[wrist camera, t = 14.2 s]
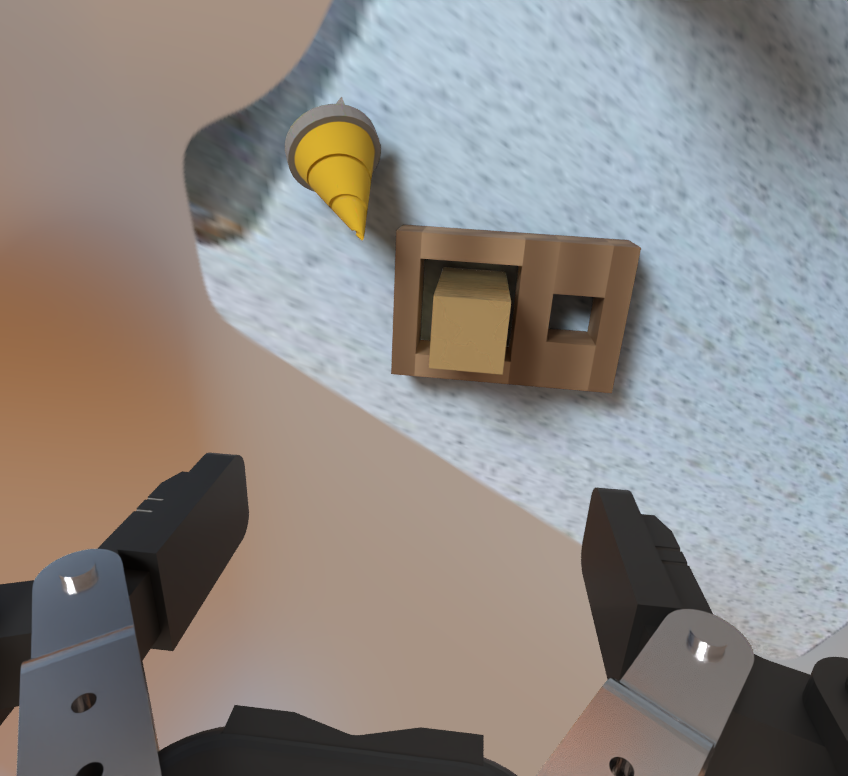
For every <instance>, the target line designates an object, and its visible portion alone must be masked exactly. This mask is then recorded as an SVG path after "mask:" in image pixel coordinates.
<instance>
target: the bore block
mask: <svg viewBox="0 0 848 776" xmlns="http://www.w3.org/2000/svg"><path fill="white" fill-rule="evenodd" d="M640 250H641V247H639V246H637V245H636V244H634V243H632V242H631V241H629V240H619V239H604V238H590V237H575V236H561V235H546V234H532V233H517V232H503V231H488V230H474V229H459V228H445V227H430V226H416V225H402V226H401V227H400V228H399V229H398V230H396V254H395V283H394V312H393V341H392V369H391V374H398V375H409V376H420V377H432V378H443V379H455V380H466V381H478V382H489V383H501V384H512V385H524V386H535V387H546V388H558V389H569V390H581V391H592V392H604V393H612V389H613V385H614V380H615V375H616V370H617V365H618V360H619V355H620V350H621V345H622V340H623V335H624V330H625V325H626V320H627V315H628V310H629V305H630V300H631V295H632V290H633V285H634V280H635V275H636V270H637V265H638V260H639V255H640ZM425 259H435V260H449V261H462V262H476V263H490V264H504V265H517V266H518V273H517V282H516V290H515V298H514V307H513V315H512V323H511V332H510V340H509V347H506V350H505V358H504V366H503V375H502V374H491V373H479V372H468V371H457V370H446V369H434V368H429V357H430V342H431V340H420V338H421V320H422V302H423V283H424V265H425ZM553 294H563V295H576V296H589V297H593V303H592V309H591V314H590V320H589V326H588V332H586V331H573V330H561V329H549V328H548V326H549V319H550V313H551V306H552V299H553Z"/></svg>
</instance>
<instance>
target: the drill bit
mask: <svg viewBox="0 0 848 776" xmlns="http://www.w3.org/2000/svg"><path fill="white" fill-rule="evenodd" d="M285 153H286V157H287V161H288V165H289V168H290V171H291V173H292V175H293V177H294V178H295V179H296V180H297V182H298V183H300V184H301V185H302V186H304V187H305V188H307V189H309V190H311V191H315V192H316V193H317V194H318V195H319V196H320V197H321V198H322V199H323V200H324V202H325V203H326V204H327V205H328V206H329V207H330V208H331V209H332V210H333V211H334V212H335V213H336V214H337V215H338V216H339V217H340V218H341V220H342V221H343V222H344V223H345V224H346V225H347V226H348V227H349V228H350V229H351V230H352V231H354V230H355V231H356V235H357V236H358V237H359V238H360V239H361V240H363V239H364V233H365V225H366V218H367V210H368V202H369V194H370V186H371V179H372V173H373V172H374V170H375V169H376V167H377V165H378V162H379V160H380V154H381V145H380V142H379V138H378V136H377V133H376V130H375V128H374V126H373V124H372V122H371V120H370V119H369V118H368V117H367V116H366V115H365V114H364V113H363V112H361V111H360V110H358V109H356V108H354V107H351V106H348V105H345V104H344V102H343V99H342V97H341V98H340V99H339V101H338V102H337V103H336V104H328V105H322V106H319V107H316V108H313V109H311V110H309V111H308V112H306V113H304V114H303V115H302V116H300V117H299V118H298V119H297V120H296V121H295V122H294V124H293V125H292V126H291V128H290V130H289V132H288V134H287V137H286V141H285Z"/></svg>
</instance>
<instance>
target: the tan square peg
mask: <svg viewBox="0 0 848 776" xmlns="http://www.w3.org/2000/svg"><path fill="white" fill-rule="evenodd" d="M510 308H511V298H510V293H509V287H508V282H507V277H506V272H503V271H490V270H476V269H463V268H450V267H443V270H442V273H441V276H440V279H439V281H438V284H437V287H436V290H435V293H434V296H433V311H432V326H431V342H430V357H429V368H434V369H446V370H457V371H468V372H479V373H491V374H502V375H503V366H504V358H505V350H506V341H507V333H508V325H509V316H510Z"/></svg>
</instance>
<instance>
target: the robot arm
mask: <svg viewBox="0 0 848 776" xmlns="http://www.w3.org/2000/svg"><path fill="white" fill-rule="evenodd" d="M248 519H249V509H248V497H247V487H246V476H245V466H244V461H243V458H242V457H241V456H240V455H231V454H219V453H206V454H205V455H204V456H203V457H202V458H201V459H200V460H199V462H197V464H196V465H195V466H194V467H193V468H192V469H191V470H190V471H189V472H180V473H179V474H177V475H175V476H173V477H171V478H169V479H168V480H166V481H164V482H162V483H161V484H160V485H159V486H158V487H157V488H156V489H155V490H154V491H153V492H152V493H151V494H150V495H149V496H148V499H147V500H144V501H143V502H142V503H141V504H140V505H139V507H138V508H137V511H134V512H133V513H132V514H131V515H130V516H129V517H128V518H127V519H126V520H125V521H124V522H123V523H122V524H121V525H120V526H119V527H118V528H117V529H116V530H115V531H114V532H113V533H112V534H111V535H110V536H109V537H108V538H107V539H106V540H105V541H104V542H103V543H102V545H101V546H100V547H99V548H98V549H88V550H82V551H78V552H74V553H71V554H68V555H66V556H63V557H62V558H60V559H57V560H55V561H54V562H52V563H51V564H49V565H48V566H47V567H45V568H44V569H43V570H42V571H41V572H40V573H39V574H38V575H37V577H36V578H35V580H32V581H25V582H16V583H8V584H0V725H1V724H2V723H3V721H4V720H5V719H6V717H7V716H8V715H9V714H10V712H11V711H12V710H13V709H14V707H16V706H19V725H18V753H17V776H517V775H516V774H514V773H513V772H511V771H510V770H509V769H507V768H505V767H503V766H501V765H499V764H498V763H496V762H494V761H491V760H489V759H486V758H484V757H483V735H478V734H471V733H462V732H454V731H446V730H437V729H429V728H413V729H405V730H397V731H389V732H382V733H374V734H366V735H350V734H347V733H345V732H342V731H340V730H337V729H335V728H332V727H330V726H327V725H325V724H322V723H320V722H317V721H315V720H312V719H310V718H307V717H305V716H302V715H300V714H297V713H295V712H288V711H280V710H272V709H263V708H255V707H247V706H238V705H235V706H234V708H233V710H232V712H231V714H230V717H229V719H228V721H227V723H226V726H225V727H218V728H214V729H210V730H206V731H202V732H199V733H196V734H194V735H191V736H188V737H185V738H183V739H181V740H179V741H177V742H175V743H172V744H170V745H169V746H167V747H165V748H163V749H162V750H159V745H158V739H157V734H156V729H155V724H154V719H153V713H152V708H151V703H150V698H149V693H148V687H147V682H146V677H145V672H144V667H143V662H142V661H143V659H144V658H145V656H146V655H147V653H148V652H149V650H150V649H159V650H168V651H173V650H174V649H175V647H176V646H177V644H178V642H179V641H180V639H181V638H182V636H183V634H184V633H185V631H186V630H187V628H188V626H189V625H190V623H191V622H192V620H193V618H194V617H195V615H196V614H197V612H198V610H199V609H200V607H201V605H202V604H203V602H204V601H205V599H206V598H207V596H208V594H209V592H210V591H211V590H212V588H213V586H214V585H215V583H216V581H217V580H218V578H219V577H220V575H221V573H222V572H223V570H224V569H225V567H226V565H227V564H228V562H229V560H230V559H231V557H232V556H233V554H234V552H235V551H236V549H237V548H238V546H239V544H240V543H241V541H242V540H243V538H244V535H245V533H246V529H247V525H248ZM581 565H582V574H583V578H584V582H585V586H586V591H587V595H588V599H589V603H590V607H591V612H592V616H593V620H594V624H595V628H596V633H597V636H598V641H599V645H600V650H601V654H602V658H603V662H604V666H605V671H606V675H607V679H608V680H607V681H606V682H605V684H604V685H603V686H602V687H601V689H600V690H599V691H598V693H597V694H596V696H595V697H594V698H593V699H592V701H591V702H590V703H589V705H588V706H587V707H586V709H585V710H584V712H583V713H582V714H581V716H580V717H579V718H578V720H577V721H576V722H575V724H574V725H573V726H572V728H571V729H570V731H569V732H568V733H567V734H566V736H565V737H564V739H563V740H562V741H561V743H560V744H559V745H558V747H557V748H556V749H555V751H554V752H553V754H552V755H551V756H550V757H549V759H548V760H547V761H546V763H545V764H544V765H543V767H542V768H541V770H540V771H539V772H538V774H537V775H536V776H848V659H847V658H842V657H828V658H824V659H822V660H820V661H818V662H817V663H816V664H815V666H814V668H813V671H812V673H811V675H809V674H806V673H803V672H801V671H797V670H795V669H792V668H789V667H786V666H783V665H780V664H777V663H774V662H771V661H769V660H766V659H763V658H761V657H759V656H757V655H755V654H754V653H753V650H752V647H751V645H750V643H749V642H748V641H747V639H746V638H745V637H744V635H743V634H742V633H741V632H740V631H739V630H737V629H736V628H735V627H734V626H733V625H731V624H730V623H728V622H727V621H725V620H723V619H721V618H720V617H717V616H715V615H713V613H712V611H711V609H710V607H709V605H708V603H707V601H706V599H705V597H704V595H703V593H702V591H701V589H700V587H699V585H698V583H697V581H696V579H695V577H694V575H693V573H692V571H691V569H690V567H689V566H687V561H686V559H685V557H684V555H683V553H682V552H680V547H679V545H678V543H677V541H676V539H675V537H674V535H673V533H672V531H671V530H670V529H669V528H668V527H666V526H665V525H664V524H663V523H662V522H661V521H660V520H659V519H658V518H657V517H656V516H654V515H644V514H641V513H640V511H639V509H638V506H637V504H636V502H635V499H634V497H633V495H632V493H631V492H630V491H629V490H618V489H607V488H594V490H593V492H592V495H591V500H590V506H589V511H588V516H587V522H586V527H585V532H584V538H583V543H582V552H581Z"/></svg>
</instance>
